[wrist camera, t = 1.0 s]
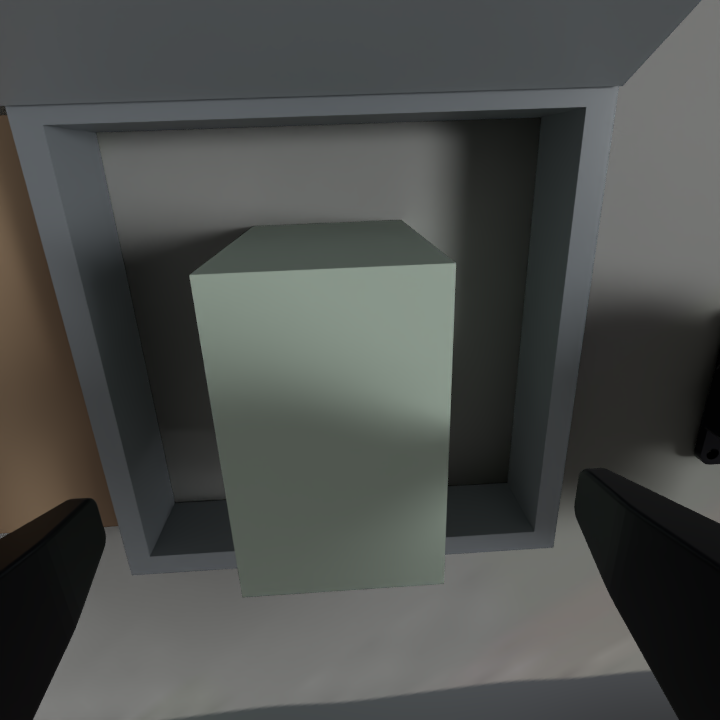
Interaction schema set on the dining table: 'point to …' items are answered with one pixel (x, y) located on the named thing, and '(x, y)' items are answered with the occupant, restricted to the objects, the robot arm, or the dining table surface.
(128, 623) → the dining table surface
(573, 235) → the equipment case
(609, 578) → the robot arm
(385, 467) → the block
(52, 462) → the board
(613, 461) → the dining table surface
